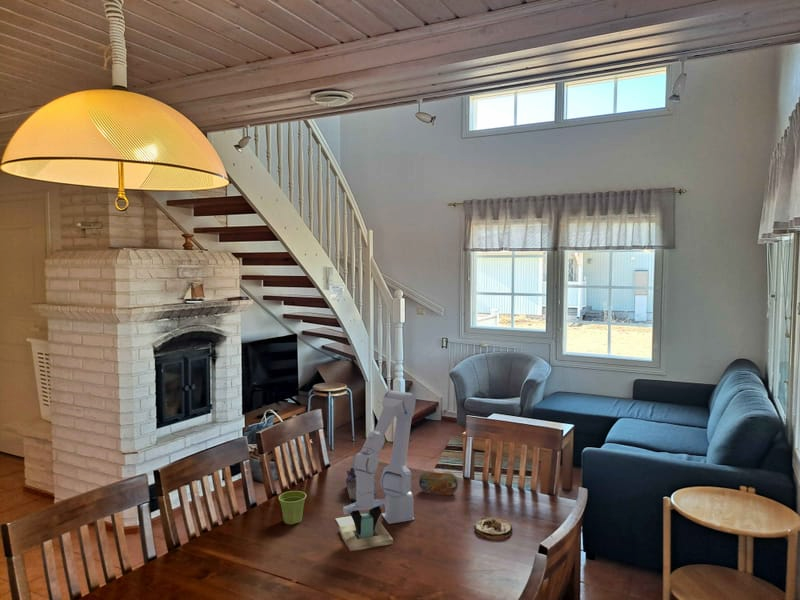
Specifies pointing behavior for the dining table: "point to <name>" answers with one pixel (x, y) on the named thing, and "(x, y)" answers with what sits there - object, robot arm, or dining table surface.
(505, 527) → the beige round shallow dish
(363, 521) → the teal block
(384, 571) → the dining table surface
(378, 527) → the board
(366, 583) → the dining table surface
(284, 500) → the plant pot
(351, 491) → the geode
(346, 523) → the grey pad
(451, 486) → the tin
